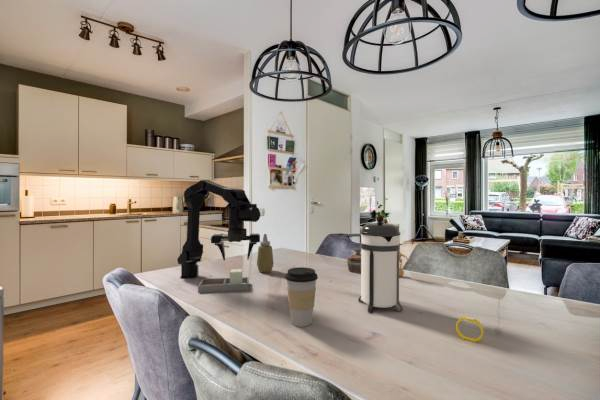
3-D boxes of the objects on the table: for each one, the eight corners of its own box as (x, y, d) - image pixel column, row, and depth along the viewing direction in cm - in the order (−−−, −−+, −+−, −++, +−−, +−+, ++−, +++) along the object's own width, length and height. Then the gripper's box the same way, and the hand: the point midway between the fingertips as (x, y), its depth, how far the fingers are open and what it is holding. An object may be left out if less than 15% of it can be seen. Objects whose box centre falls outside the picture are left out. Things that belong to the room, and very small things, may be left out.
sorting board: (198, 292, 113) (198, 285, 113) (202, 285, 123) (202, 278, 122) (247, 290, 116) (247, 283, 116) (248, 283, 125) (248, 277, 125)
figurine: (409, 276, 136) (409, 249, 135) (408, 279, 130) (408, 252, 130) (389, 274, 139) (390, 248, 139) (388, 277, 133) (388, 250, 133)
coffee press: (412, 305, 101) (412, 215, 100) (390, 319, 89) (390, 218, 88) (366, 293, 112) (366, 213, 112) (341, 304, 101) (341, 215, 100)
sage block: (229, 287, 117) (229, 272, 117) (231, 284, 122) (230, 269, 122) (241, 287, 118) (241, 271, 118) (242, 283, 122) (242, 269, 122)
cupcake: (344, 268, 150) (344, 248, 149) (363, 268, 151) (363, 248, 150) (350, 273, 140) (350, 252, 140) (370, 273, 141) (370, 252, 141)
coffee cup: (307, 332, 80) (307, 276, 80) (278, 324, 85) (278, 271, 85) (323, 320, 88) (323, 269, 88) (296, 313, 93) (296, 265, 93)
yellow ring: (482, 341, 76) (484, 318, 76) (481, 346, 74) (483, 322, 74) (456, 333, 80) (458, 311, 79) (454, 337, 78) (456, 315, 77)
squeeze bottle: (272, 273, 140) (272, 235, 140) (255, 273, 140) (255, 235, 140) (274, 269, 148) (274, 232, 148) (258, 269, 148) (258, 232, 148)
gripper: (208, 222, 110) (208, 265, 110) (259, 222, 113) (260, 263, 113) (212, 220, 121) (213, 259, 121) (259, 219, 124) (259, 257, 124)
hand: (236, 259), depth 119 cm, fingers open, 9 cm apart
